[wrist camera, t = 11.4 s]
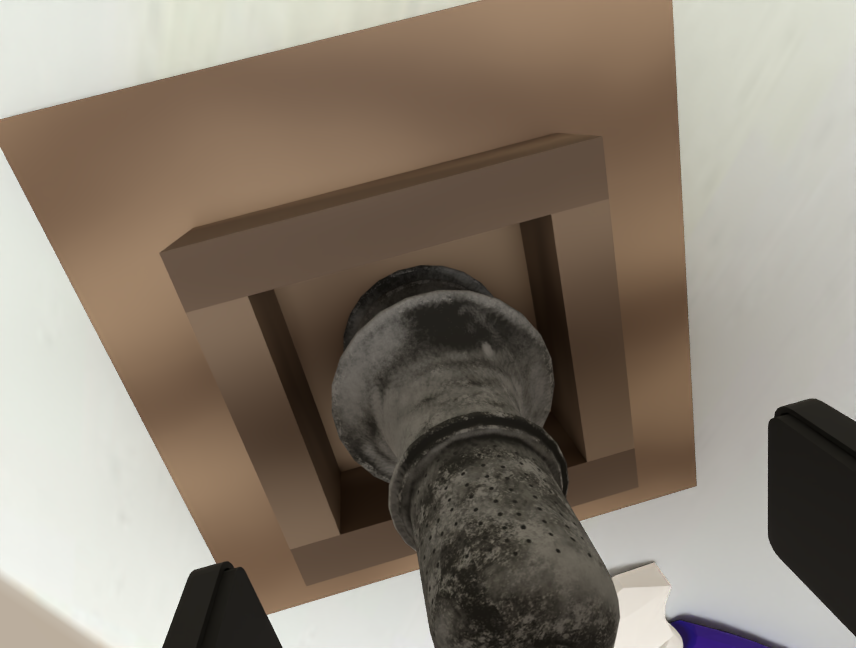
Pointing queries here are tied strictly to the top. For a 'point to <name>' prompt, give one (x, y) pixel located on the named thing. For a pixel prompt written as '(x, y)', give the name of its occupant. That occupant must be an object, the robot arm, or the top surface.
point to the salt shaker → (471, 462)
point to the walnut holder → (378, 255)
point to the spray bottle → (660, 616)
